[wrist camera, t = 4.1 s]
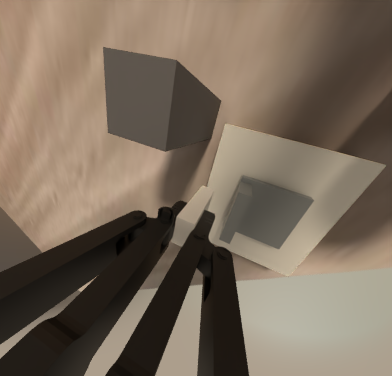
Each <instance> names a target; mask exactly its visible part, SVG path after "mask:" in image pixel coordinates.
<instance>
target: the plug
mask: <svg viewBox="0 0 392 376" xmlns="http://www.w3.org/2000/svg"><path fill="white" fill-rule="evenodd" d="M103 53H104V71H105V89H106V107H107V125H108V133H110V134H113V135H116V136H119V137H122V138H125V139H128V140H131V141H135V142H138V143H141V144H144V145H147V146H150V147H153V148H156V149H159V150H162V151H169V150H172V149H176V148H179V147H183V146H186V145H190V144H193V143H197V142H200V141H203V140H207V139H210V138H211V137H212V134H213V130H214V126H215V122H216V118H217V115H218V111H219V107H220V103H221V100H220V99H219V98H217V97H216V96H215V95H214V94H213V93H212V92H211V91H210V90H209V89H208V88H207V87H205V86H204V85H203V84H202V83H201V82H200V81H199V80H198V79H197V78H196V77H194V76H193V75H192V74H191V73H190V72H189V71H188V70H187V69H186V68H185V67H184V66H182V65H181V64H180V63H179V62H178V61H177V60H173V59H167V58H162V57H156V56H150V55H145V54H139V53H133V52H128V51H122V50H117V49H111V48H105V47H103Z"/></svg>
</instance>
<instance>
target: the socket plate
mask: <svg viewBox="0 0 392 376" xmlns="http://www.w3.org/2000/svg"><path fill="white" fill-rule="evenodd" d="M385 167H386V165H384V164H381V163H377V162H374V161H370V160H366V159H363V158H359V157H355V156H352V155H348V154H344V153H340V152H336V151H332V150H328V149H324V148H321V147H317V146H313V145H309V144H305V143H301V142H297V141H293V140H289V139H286V138H282V137H278V136H274V135H270V134H266V133H262V132H258V131H255V130H251V129H247V128H243V127H239V126H235V125H231V124H226V123H225V126H224V130H223V133H222V137H221V140H220V144H219V147H218V150H217V154H216V157H215V161H214V164H213V167H212V171H211V174H210V178H209V181H208V185H207V187H208V188H211V189H213V190H214V193H213V196H212V199H211V202H210V205H209V208H208V210H207V211H209V212H212V213H214V214H215V220H214V223H213V225H212V228H211V231H210V233H209V241H210V242H211V243H213V244H215V245H217V246H220V247H224V248H226V249H227V250H229V251H231V252H233V253H235V254H237V255H240V256H242V257H244V258H246V259H249V260H251V261H253V262H255V263H258V264H260V265H262V266H264V267H267V268H269V269H271V270H274V271H276V272H278V273H280V274H283V275H285V276H287V277H289V276H290V275H291V274H292V272H293V271H294V270H295V269H296V268H297V267H298V266H299V264H300V263H301V262H302V261H303V260H304V259H305V258H306V257H307V255H308V254H309V253H310V252H311V251H312V250H313V249H314V247H315V246H316V245H317V244H318V243H319V242H320V241H321V239H322V238H323V237H324V236H325V235H326V234H327V233H328V231H329V230H330V229H331V228H332V227H333V226H334V225H335V223H336V222H337V221H338V220H339V219H340V218H341V217H342V216H343V214H344V213H345V212H346V211H347V210H348V209H349V208H350V206H351V205H352V204H353V203H354V202H355V201H356V200H357V198H358V197H359V196H360V195H361V194H362V193H363V192H364V190H365V189H366V188H367V187H368V186H369V185H370V184H371V183H372V181H373V180H374V179H375V178H376V177H377V176H378V175H379V173H380V172H381V171H382V170H383V169H384V168H385ZM242 175H245V176H248V177H251V178H254V179H257V180H260V181H263V182H266V183H270V184H273V185H276V186H279V187H282V188H285V189H288V190H291V191H294V192H297V193H300V194H303V195H306V196H309V197H312V199H313V200H314V202H313V203H312V204H311V206H310V207H309V209H308V210H307V211H306V213H305V214H304V215H303V217H302V218H301V220H300V221H299V222H298V224H297V225H296V227H295V228H294V229H293V231H292V232H291V234H290V235H289V236H288V238H287V239H286V241H285V242H284V243H283V245H282V246H281V247H280V249H276V248H274V247H272V246H269V245H267V244H264V243H262V242H259V241H257V240H255V239H252V238H250V237H247V236H245V235H242V234H240V233H238V232H235V234H234V236H233V238H232V240H231V242H230V244H228V243H226V242H224V241H221V240H219V238H220V234H221V230H222V227H223V226H222V225H223V222H224V220H225V217H226V215H227V212H228V210H229V207H230V205H231V202H232V200H233V197H234V195H235V192H236V190H237V187H238V185H239V182H240V180H241V178H242Z"/></svg>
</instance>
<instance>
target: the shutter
mask: <svg viewBox="0 0 392 376" xmlns="http://www.w3.org/2000/svg"><path fill="white" fill-rule="evenodd" d="M313 202H314V200H313V199H312V197H309V196H306V195H303V194H300V193H297V192H294V191H291V190H288V189H285V188H282V187H279V186H276V185H273V184H270V183H266V182H263V181H260V180H257V179H254V178H251V177H248V176H245V175H242V178H241V180H240V182H239V185H238V187H237V190H236V192H235V195H234V197H233V200H232V202H231V205H230V207H229V210H228V212H227V215H226V217H225V220H224V222H223V225H222V226H223V227H222V230H221V234H220V238H219V240H221V241H224V242H226V243H228V244H230V242H231V240H232V238H233V236H234V234H235V232H238V233H240V234H242V235H245V236H247V237H250V238H252V239H255V240H257V241H259V242H262V243H264V244H267V245H269V246H272V247H274V248H276V249H280V247H281V246H282V245H283V243H284V242H285V241H286V239H287V238H288V236H289V235H290V234H291V232H292V231H293V229H294V228H295V227H296V225H297V224H298V222H299V221H300V220H301V218H302V217H303V215H304V214H305V213H306V211H307V210H308V209H309V207H310V206H311V204H312V203H313Z"/></svg>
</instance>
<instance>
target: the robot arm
mask: <svg viewBox="0 0 392 376" xmlns="http://www.w3.org/2000/svg"><path fill="white" fill-rule="evenodd" d="M213 193H214V190H213V189H211V188H208V187H205V186H203V185H202V186H201V187H200V189H199V190H198V191H197V192H196V194H195V195H194V196H193V197H192V198H191V200H190V201H189V202H188V203H186V202H184V201H178V202H176V204H175V205H174V206H173V207H172V208H169V207H161V208H159V210H158V217H157V218H149V217H147V216H146V213H145V212H143V211H139V210H138V211H133V212H130V213H128V214H126V215H124V216H121V217H119V218H117V219H115V220H113V221H111V222H108V223H106V224H104V225H102V226H100V227H98V228H95V229H93V230H91V231H89V232H87V233H85V234H82V235H80V236H78V237H76V238H74V239H72V240H69V241H67V242H65V243H63V244H61V245H59V246H56V247H54V248H52V249H50V250H48V251H46V252H43V253H42V254H39V255H37V256H35V257H33V258H30V259H28V260H26V261H24V262H22V263H20V264H17V265H15V266H13V267H11V268H9V269H7V270H4V271H2V272H0V344H2V343H3V342H4V341H6V340H7V339H9V338H10V337H12V336H13V335H15V334H16V333H17V332H19V331H20V330H22V329H23V328H24V327H26V326H27V325H28V324H30V323H31V322H33V321H34V320H36V319H37V318H38V317H40V316H41V315H43V314H44V313H45V312H47V311H48V310H50V309H51V308H53V307H54V306H55V305H57V304H58V303H60V302H61V301H62V300H64V299H65V298H67V297H68V296H69V295H71V294H72V293H74V292H75V291H77V290H78V289H79V288H81V287H82V286H84V285H85V284H86V283H88V282H89V281H91V280H92V279H94V278H95V277H96V276H97V277H96V278H95V279H94V280H93V281H92V282H91V283H90V284H89V285H88V286H87V287H86V288H85V289H84V290H83V291H82V292H81V293H80V294H79V295H78V296H77V297H76V298H75V299H74V300H73V301H72V302H71V303H70V304H69V305H68V306H67V307H66V308H65V309H64V310H63V311H62V312H61V313H59V314H58V315H57V316H55V317H53V318H50V319H47V320H45V321H43V322H41V323H40V324H38V325H37V326H36V327H34V328H33V329H32V330H31V331H30V332H29V333H27V334H26V335H25V336H24V337H23V338H22V339H21V340H20V341H19V342H18V343H17V344H16V345H15V346H13V347H12V348H11V349H10V350H9V351H8V352H7V353H6V354H5V355H4V356H3V357H2V358H1V359H0V376H84V374H85V372H86V370H87V368H88V366H89V364H90V361H91V360H92V358H93V356H94V355H95V353H96V352H97V350H98V349H99V347H100V346H101V344H102V343H103V341H104V340H105V338H106V337H107V336H108V334H109V333H110V331H111V329H112V328H113V327H114V325H115V324H116V322H117V321H118V319H119V318H120V316H121V315H122V313H123V312H124V311H125V309H126V307H127V306H128V305H129V303H130V302H131V300H132V299H133V297H134V296H135V294H136V293H137V291H138V290H139V289H140V287H141V286H142V284H143V283H144V281H145V280H146V278H147V277H148V275H149V274H150V272H151V271H152V269H153V268H154V266H155V265H156V264H157V262H158V261H159V259H160V258H161V256H162V255H163V253H164V252H165V250H166V249H167V247H168V245H169V241H170V240H171V239H172V240H171V242H172V243H174V244H176V245H178V246H180V247H182V248H181V250H180V251H179V253H178V255H177V257H176V258H175V260H174V262H173V264H172V265H171V267H170V269H169V271H168V272H167V274H166V276H165V278H164V279H163V281H162V283H161V285H160V286H159V288H158V290H157V292H156V294H155V295H154V297H153V299H152V301H151V303H150V304H149V306H148V308H147V309H146V311H145V313H144V314H143V316H142V318H141V320H140V322H139V323H138V325H137V327H136V329H135V331H134V332H133V334H132V336H131V337H130V339H129V341H128V343H127V344H126V346H125V348H124V350H123V351H122V353H121V355H120V357H119V358H118V360H117V361H116V362H115V363H114V364H113V366H112V367H111V368H110V369H109V371H108V372H107V374H106V375H105V376H155V374H156V372H157V369H158V366H159V364H160V361H161V359H162V356H163V353H164V351H165V348H166V345H167V343H168V340H169V337H170V335H171V333H172V330H173V327H174V325H175V322H176V320H177V317H178V314H179V312H180V309H181V306H182V304H183V301H184V299H185V296H186V293H187V291H188V288H189V286H190V283H191V281H192V278H193V275H194V273H195V270H196V268H197V269H198V270H199V271H200V272H201V273H202V274H203V289H202V305H201V322H200V339H199V356H198V372H197V376H249V372H248V365H247V358H246V352H245V344H244V337H243V330H242V323H241V315H240V308H239V301H238V294H237V287H236V280H235V273H234V266H233V258H232V255H231V253H230V251H229V250H227V249H226V248H224V247H220V246H218V247H215V246H214V245H213V244H212V243H211V242H210V241H209V233H210V231H211V228H212V225H213V223H214V220H215V214H214V213H212V212H209V211H207V210H208V208H209V205H210V202H211V199H212V196H213Z"/></svg>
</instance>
